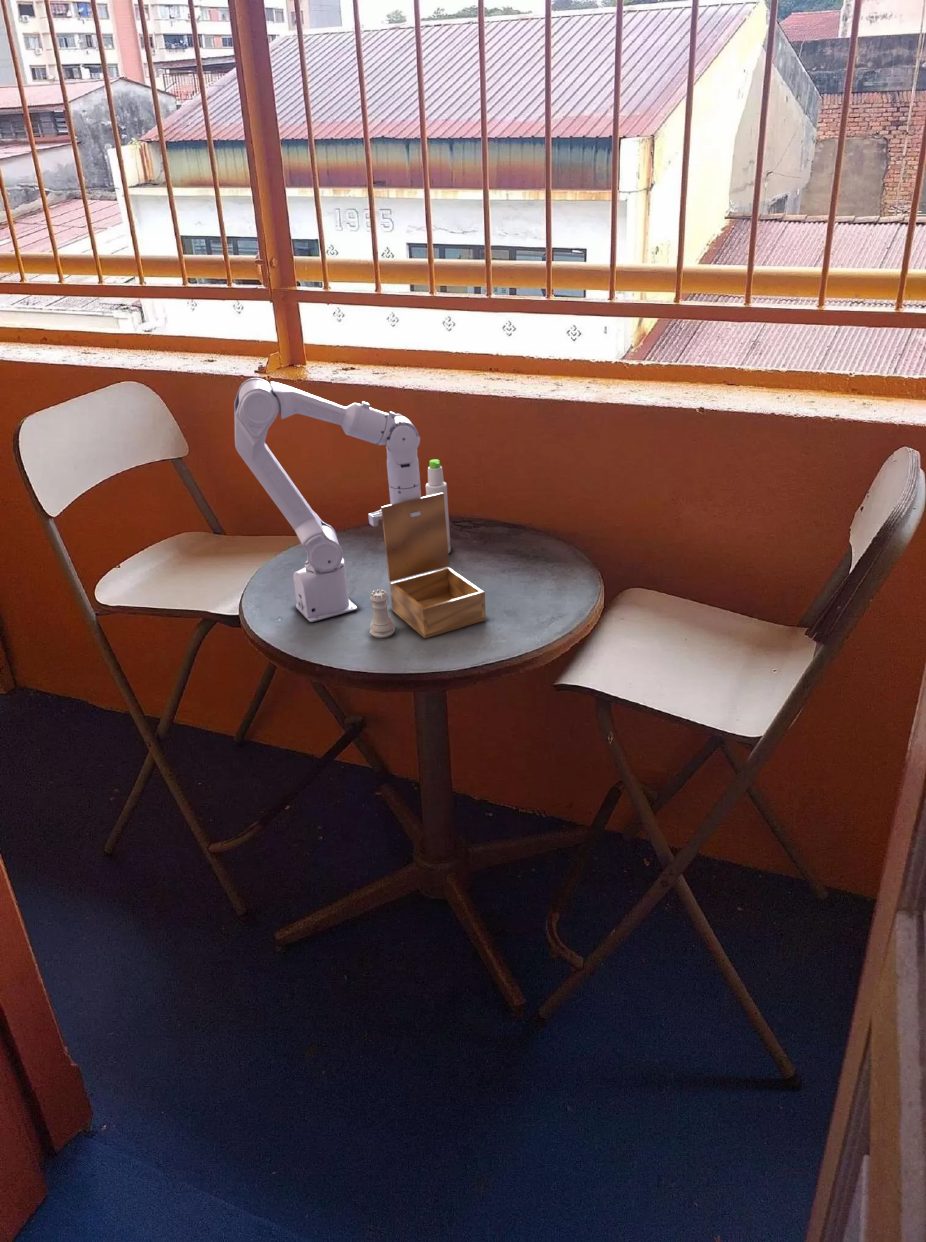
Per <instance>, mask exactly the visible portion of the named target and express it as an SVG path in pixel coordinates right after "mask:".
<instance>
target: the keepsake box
mask: <svg viewBox="0 0 926 1242" xmlns="http://www.w3.org/2000/svg"><path fill="white" fill-rule="evenodd" d="M389 589H390V598H391V610H392V612H393V613H395V615H397V616H398V617H399V618H400V619H402V620H403V621H404V622H405V623H406V624H407V625H409V626H410V627H411V628H412V630H415V631H416V632H417V634H419V635H420V636H421V637H422V638H424V639H428V638H432V637H435V636H438V635H442V634H445V633H448V632H452V631H454V630H458V629H462V628H465V627H468V626H471V625H474V624H478V623H481V622H485V621H486V620H487V619H486V597H485V591H484V590H483V589H481V588H480V587H478V586H477V585H475V584H474V583H473V582H471V581H470V580H468V579H467V578H465V577H464V576H462V575H461V574H459V573H458V572H457V571H455V570H454V569H452V568H451V567H449V566H447V567H443V568H439V569H436V570H432V571H428V572H424V573H421V574H417V575H413V576H410V577H406V578H402V579H398V580H395V581H391V582H389Z"/></svg>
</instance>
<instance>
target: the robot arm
mask: <svg viewBox="0 0 926 1242" xmlns="http://www.w3.org/2000/svg"><path fill="white" fill-rule="evenodd" d="M233 409H234V412H233V413H234V414H233V415H234V447H235V450H236V452H237V453H238V455H239V456H240V457H241V459H242V460H243V461H244V463H245V464H246V465H247V467H248V468H249V470H250V471H251V473H252V474H253V475H254V476H255V477H254V478H256V480H257V481H258V482H259V484H260V485H261V486H262V488H263V489H264V491H265V492H266V493H267V495H268V496H269V498H270V499H271V500H272V501H273V503H274V504H275V505H276V507H277V508H278V510H279V511H280V512H281V514H282V515H283V517H284V518H285V519H286V520H287V522H288V523H289V525H290V526H291V527H292V529H293V531H294V532H295V534H296V536H297V538H298V540H299V541H300V544H301V545H302V547H303V548H304V549H305V551H306V557H307V558H306V560H305V562H304V566H303V567H302V568H301V569H299V570H296V571H294V572H293V576H292V581H293V587H294V594H295V601H296V605H295V607H296V609H297V611H299V613H301V614H302V616H304V618H306V620H308V622H310V623H314V622H318V621H321V620H324V619H328V618H332V617H336V616H339V615H343V614H346V613H350V612H354V611H356V610H358V607H357V605H356V604H354V602H352V601H351V600H350V598H349V591H348V582H347V581H348V580H347V574H346V567H345V566H346V565H345V564H346V563H345V559H344V557H343V556H344V553H343V549H342V547H341V545H340V543H339V540H338V535H337V532H336V530H335V529H334V528H333V526H332V525H330V524H328V523H326V522H324V521H323V520H322V519H321V517H320V516H319V515H318V514H317V513H316V512H315V511H314V510H313V509H312V507H311V506H310V504H309V502H307V500H306V498H305V497H304V496H303V494H302V493H301V492H300V489H298V487H297V485H295V483H294V482H293V480H292V479H291V477H290V475H288V473H287V472H286V470H285V469H284V467H283V466H282V465H281V463H280V461H278V459H277V457H276V456H275V455H274V453H273V452H272V450H271V449H270V447H269V446H268V444H267V443H266V439H267V435H268V430H269V429H270V427H271V426H272V424H273V423H274V422H275V420H276V418H277V416H278V414H279V417H280V420H284V419H287V418H289V417H291V416H293V415H296V414H297V415H298V414H299V415H302V416H306V417H310V418H313V419H317V420H320V421H324V422H328V423H330V424H335V425H339V426H341V429H342V430H343V432H344V434H345V435H346V436H350V437H353V438H356V439H358V440H362V441H365V442H368V443H371V444H374V445H378V446H385V448H386V470H387V482H388V492H389V493H388V494H389V501H390V502H389V505H390V504H395V503H399V502H404V501H408V500H412V499H417V498H421V497H422V491H421V490H422V489H421V477H420V476H421V475H420V462H419V457H418V448H419V446H420V443H421V436H420V435H419V431H418V430H417V427H416V426H415V425H414V424H413V423H412V421H411V420H410V419H409V418H408V417H406V416H404V415H402V414H401V413H395V412H394V411H391V410H390V411H388V412H384V411H382V410H379V409H376V408H374V407H371V404H370V403H369V402H366V401H364V400H362V401H361V403H358V402H353V403H351V404H348V405H347V406H344V405H342V404H338V403H336V402H334V401H330V400H328V399H325V398H322V397H320V396H317V395H314V394H311V393H309V392H306V391H303V390H301V389H298V388H295V387H293V386H290V385H287V384H283V383H280V382H276V381H270V382H269V381H267V380H265V379H264V378H260V377H252V378H248V379H247V380H245V381H243V382H242V383H241V385H240V386H239V388H238V390H237V393H236V396H235V400H234V402H233ZM367 515H368V523H369V525H370V526H372V527H378V526H379V525H380V524H383V521H382V512H381V509H379V510H376V511H374V512H370V513H367ZM419 515H421V514H420V511H417V512H413V513H410V517H415V516H419Z"/></svg>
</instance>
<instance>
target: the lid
mask: <svg viewBox="0 0 926 1242" xmlns="http://www.w3.org/2000/svg"><path fill="white" fill-rule="evenodd" d="M380 510H381V512H382V521H383V523H382V530H383V538H384V547H385V557H386V565H387V566H386V567H387V576H388V581H389V583H392V582H395V581H399V580H403V579H407V578H410V577H414V576H418V575H421V574H425V573H429V572H433V571H436V570H440V569H444V568H447V567H449V566H450V558H449V557H450V556H449V555H450V553H448V542H447V529H446V516H445V504H444V493H438V494H434V495H430V496H426V495H425V496H421V498H417V499H412V500H408V501H404V502H399V503H395V504H390V503H389V504H386V505H383V506H380ZM417 511H420V514H421V515H419V516H415V517H410V513H413V512H417Z"/></svg>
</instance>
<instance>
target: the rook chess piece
mask: <svg viewBox="0 0 926 1242" xmlns="http://www.w3.org/2000/svg"><path fill="white" fill-rule="evenodd" d="M388 599H389V595H388V594H387V592H386V590H384V589H381V591H380V589H376V590H373V591H371V594H370V597H369V600H370V601H371V602H372V604H371V607H372V609H373V614H372V615H373V616H372V620H371V623H370V624H369V629H370V630H369V634H370V635H371V636H372V637H374V638H377V639H384V638H385V639H386V638H389V637H391V636H392V635H393V634H394V633H395V631H396V630H395V623H394V622H393V621H392V619H391V617H390V616H389V612H388V606H389V604H388V602H387V600H388Z"/></svg>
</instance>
